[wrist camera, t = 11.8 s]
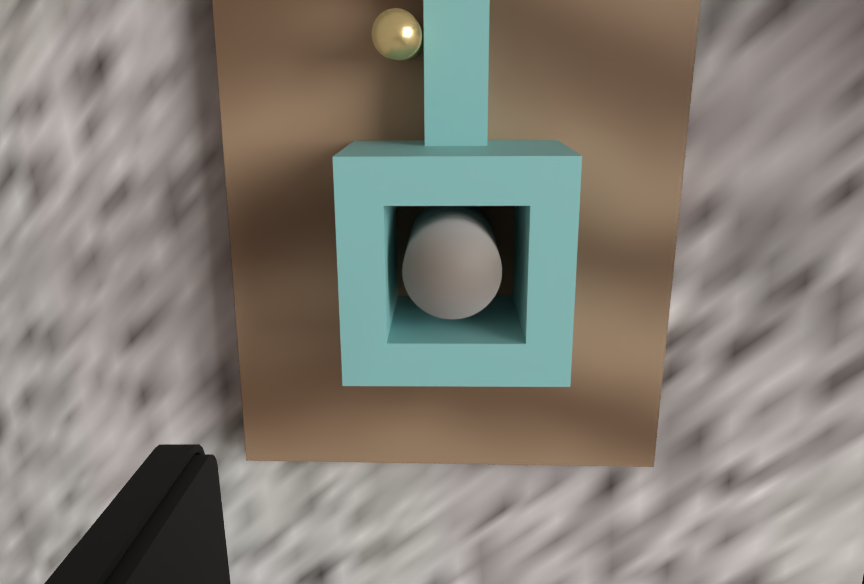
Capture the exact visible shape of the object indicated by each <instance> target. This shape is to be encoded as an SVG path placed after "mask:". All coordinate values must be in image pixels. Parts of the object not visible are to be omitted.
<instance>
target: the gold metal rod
mask: <svg viewBox="0 0 864 584" xmlns="http://www.w3.org/2000/svg"><path fill="white" fill-rule="evenodd" d="M372 41H373V44H374V46H375V48H376V49H377V50H378V52H379V53H380V54H382V55H383V56H385V57H386V58H389V59H393V60H398V61H408V60H411V59H413V58H415V57H416V56H417V55H418V54H419V53H420V51H421V50H422V48H423V44H424V34H423V31H422V28H421V27H420V25H419V24H418V22H417V21H416V19H415V18H414V17H413V15H411V14H410V13H409V12H407V11H406V10H403V9H399V8H392V9H388V10H386V11H384V12H382V13H381V14H380V15H379V16H378V17H377V18H376V20H375V21H374V24H373V27H372Z"/></svg>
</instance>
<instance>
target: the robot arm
mask: <svg viewBox="0 0 864 584" xmlns="http://www.w3.org/2000/svg"><path fill="white" fill-rule="evenodd" d="M45 584H230V575H229V566H228V557H227V548H226V539H225V530H224V520H223V511H222V502H221V493H220V484H219V475H218V466H217V460H216V458H215V456H214V455H205V453H204V450H203V448H202V447H201V446H200V445H158V446H157V447H156V448H155V449H154V450H153V451H152V453H151V454H150V455H149V456H148V458H147V459H146V460H145V461H144V463H143V464H142V465H141V466H140V467H139V469H138V470H137V471H136V472H135V474H134V475H133V476H132V477H131V478H130V480H129V481H128V482H127V483H126V485H125V486H124V487H123V488H122V490H121V491H120V492H119V493H118V494H117V496H116V497H115V498H114V499H113V501H112V502H111V503H110V504H109V506H108V507H107V508H106V509H105V510H104V512H103V513H102V514H101V515H100V517H99V518H98V519H97V520H96V522H95V523H94V524H93V525H92V526H91V528H90V529H89V530H88V531H87V533H86V534H85V535H84V536H83V537H82V539H81V540H80V541H79V542H78V544H77V545H76V546H75V547H74V548H73V549H72V551H71V552H70V553H69V554H68V555H67V557H66V558H65V559H64V560H63V562H62V563H61V564H60V565H59V566H58V568H57V569H56V570H55V571H54V573H53V574H52V575H51V576H50V578H49V579H48V580H47V581H46V582H45ZM862 584H864V576H863V582H862Z"/></svg>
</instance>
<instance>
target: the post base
mask: <svg viewBox="0 0 864 584" xmlns="http://www.w3.org/2000/svg"><path fill="white" fill-rule="evenodd" d="M700 2H701V0H490V7H489V72H488V137H487V140H558V141H560V142H561V143H563V144H564V145H566V146H568V147H569V148H571V149H572V150H574V151H575V152H577V153H578V154H580V155H582V170H581V189H580V209H579V228H578V248H577V267H576V287H575V306H574V325H573V345H572V364H571V384H570V387H468V386H342V363H341V340H340V317H339V293H338V270H337V247H336V224H335V201H334V178H333V156H334V155H336V154H337V153H338V152H340V151H341V150H342V149H344V148H345V147H346V146H348V145H349V144H351V143H352V142H353V141H409V140H425V124H424V44H423V48H422V50H421V51H420V53H419V54H418V55H417V56H416V57H415V58H413V59H411V60H408V61H398V60H393V59H389V58H386V57H385V56H383V55H382V54H380V53H379V52H378V50H377V49H376V48H375V46H374V44H373V41H372V27H373V24H374V21H375V20H376V18H377V17H378V16H379V15H380V14H381V13H382V12H384V11H386V10H388V9H392V8H399V9H403V10H406V11H407V12H409V13H410V14H411V15H413V17H414V18H415V19H416V21H417V22H418V24H419V25H420V27H421V28H422V31H423V34H424V5H423V0H212V5H213V19H214V32H215V46H216V59H217V73H218V86H219V100H220V113H221V126H222V140H223V153H224V167H225V180H226V194H227V207H228V221H229V234H230V247H231V261H232V274H233V288H234V301H235V315H236V328H237V342H238V355H239V369H240V382H241V395H242V409H243V422H244V436H245V449H246V460H251V461H314V462H378V463H442V464H506V465H569V466H633V467H654V457H655V447H656V438H657V428H658V418H659V408H660V398H661V388H662V378H663V368H664V358H665V348H666V338H667V329H668V319H669V309H670V299H671V289H672V279H673V269H674V259H675V249H676V239H677V229H678V220H679V210H680V200H681V190H682V180H683V170H684V160H685V150H686V140H687V130H688V121H689V111H690V101H691V91H692V81H693V71H694V61H695V51H696V41H697V31H698V21H699V12H700ZM514 217H515V206H396V231H397V282H398V296H410V298H411V299H412V301H413V302H414V303H415V304H416V305H417V306H418V307H419V308H421V309H422V310H423V311H425V312H426V313H428V314H430V315H432V316H435V317H438V318H443V319H462V318H466V317H469V316H472V315H474V314H476V313H478V312H479V311H481V310H482V309H484V308H485V307H486V306H487V305H488V304H489V303H490V302H491V301H492V299H493V298H494V297H495V296H512V293H513V255H514Z"/></svg>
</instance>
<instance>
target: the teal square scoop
mask: <svg viewBox="0 0 864 584" xmlns="http://www.w3.org/2000/svg"><path fill="white" fill-rule="evenodd" d="M423 5H424V124H425V140H409V141H353V142H352V143H351V144H349V145H348V146H346V147H345V148H344V149H342V150H341V151H340V152H338V153H337V154H336V155H334V156H333V178H334V201H335V224H336V247H337V270H338V293H339V317H340V340H341V363H342V386H468V387H570V384H571V364H572V345H573V325H574V306H575V287H576V267H577V248H578V228H579V209H580V189H581V170H582V155H580V154H578V153H577V152H575V151H574V150H572V149H571V148H569V147H568V146H566V145H564V144H563V143H561V142H560V141H558V140H487V137H488V72H489V7H490V0H423ZM396 206H515V217H514V255H513V293H512V296H495V297H494V298H493V299H492V301H491V302H490V303H489V304H488V305H487V306H486V307H485V308H484V309H482V310H481V311H479V312H478V313H476V314H474V315H472V316H469V317H466V318H462V319H443V318H438V317H435V316H432V315H430V314H428V313H426V312H425V311H423V310H422V309H421V308H419V307H418V306H417V305H416V304H415V303H414V302H413V301H412V299H411V298H410V296H398V282H397V231H396Z"/></svg>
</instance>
